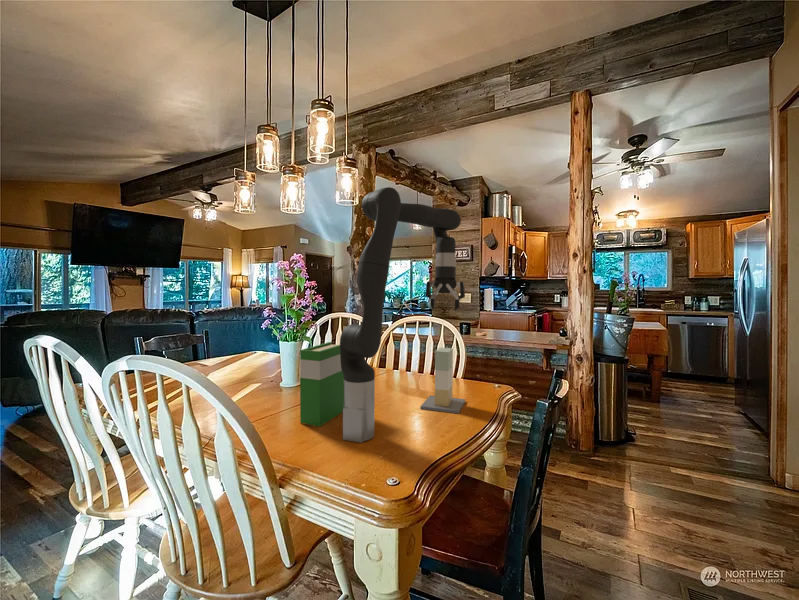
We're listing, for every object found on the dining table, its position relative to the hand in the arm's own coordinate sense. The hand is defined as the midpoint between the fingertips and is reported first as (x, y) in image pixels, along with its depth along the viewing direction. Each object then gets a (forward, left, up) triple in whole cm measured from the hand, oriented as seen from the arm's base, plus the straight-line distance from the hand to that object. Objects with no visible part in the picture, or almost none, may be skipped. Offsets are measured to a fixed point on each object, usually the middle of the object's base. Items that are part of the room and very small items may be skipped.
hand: (444, 309), depth 137 cm
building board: (0, 0, -36) cm, 36 cm away
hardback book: (-25, +36, -36) cm, 57 cm away
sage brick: (0, 0, -22) cm, 22 cm away
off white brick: (0, 0, -29) cm, 29 cm away
